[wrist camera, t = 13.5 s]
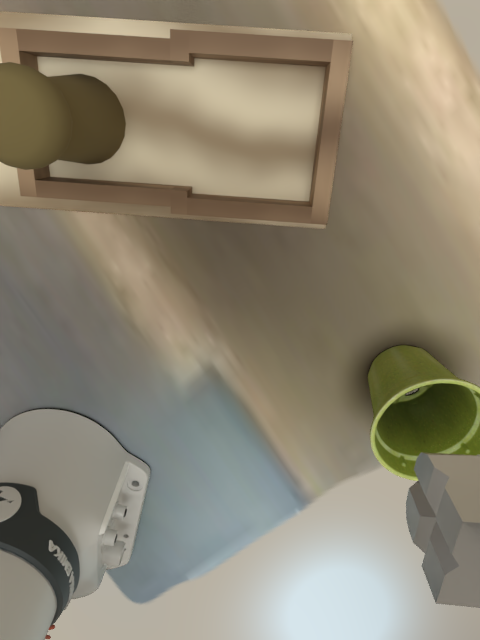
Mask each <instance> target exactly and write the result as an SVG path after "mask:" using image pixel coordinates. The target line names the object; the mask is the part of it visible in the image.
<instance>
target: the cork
mask: <svg viewBox="0 0 480 640" xmlns="http://www.w3.org/2000/svg"><path fill="white" fill-rule="evenodd" d="M125 127H126V122H125V116H124V111H123V108H122V106H121V104H120V102H119V100H118V98H117V95H116V94H115V93H114V92H113V91H112V90H111V89H110V88H109V87H108V85H107V84H105V83H104V82H102V81H100V80H99V79H97V78H95V77H93V76H89V75H85V74H72V75H61V76H51V77H47V76H45V75H44V74H42V73H40V72H39V71H37V70H36V69H34V68H32V67H29V66H25V65H21V64H17V63H13V62H7V63H0V162H1V163H3V164H5V165H7V166H11V167H15V168H19V169H24V170H29V169H38V168H43V167H46V166H48V165H50V164H52V163H53V162H55V161H57V160H62V161H69V162H75V163H82V164H88V165H89V164H98V163H102V162H104V161H106V160H108V159H110V158H111V157H112V156H113V155H114V154H115V153H116V152H117V151H118V150H119V149H120V146H121V144H122V142H123V139H124V137H125Z"/></svg>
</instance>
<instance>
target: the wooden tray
mask: <svg viewBox="0 0 480 640" xmlns="http://www.w3.org/2000/svg"><path fill="white" fill-rule="evenodd" d="M352 45H353V41H352V34H349V33H333V32H317V31H302V30H286V29H270V28H255V27H239V26H223V25H207V24H192V23H176V22H160V21H144V20H129V19H113V18H97V17H82V16H66V15H50V14H34V13H19V12H3V11H0V63H7V62H13V63H17V64H21V65H25V66H29V67H32V68H34V69H36V70H37V71H39V72H40V73H42V74H44V75H45V76H47V77H51V76H61V75H72V74H85V75H89V76H93V77H95V78H97V79H99V80H100V81H102V82H104V83H105V84H107V85H108V87H109V88H110V89H111V90H112V91H113V92H114V93H115V94H116V95H117V98H118V100H119V102H120V104H121V106H122V108H123V111H124V116H125V122H126V127H125V137H124V139H123V142H122V144H121V146H120V149H119V150H118V151H117V152H116V153H115V154H114V155H113V156H112V157H111V158H110V159H108V160H106V161H104V162H102V163H98V164H89V165H88V164H82V163H75V162H69V161H62V160H57V161H55V162H53V163H52V164H50V165H48V166H46V167H43V168H38V169H29V170H24V169H19V168H15V167H11V166H7V165H5V164H3V163H1V162H0V206H12V207H26V208H40V209H54V210H68V211H82V212H96V213H110V214H124V215H138V216H152V217H166V218H180V219H194V220H208V221H222V222H236V223H250V224H264V225H278V226H292V227H306V228H320V229H325V225H327V221H328V214H329V207H330V200H331V193H332V186H333V179H334V172H335V165H336V158H337V151H338V144H339V136H340V129H341V122H342V115H343V108H344V101H345V94H346V87H347V80H348V73H349V66H350V59H351V52H352Z"/></svg>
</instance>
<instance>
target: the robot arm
mask: <svg viewBox="0 0 480 640" xmlns="http://www.w3.org/2000/svg"><path fill="white" fill-rule="evenodd" d="M414 471H415V473H416V476H417V478H418V480H419V481H417V482H416V483H415V484H414V485H413V486H411V487H410V488H409V492H408V496H407V501H406V515H407V517H406V518H407V523H408V528H409V532H410V534H411V537H412V540H413V542H414V544H416V546H418V547H419V548H420V549H421V550H422V551H423V552H424V553H425V557H424V560H423V564H422V567H423V570H424V572H425V575H426V578H427V581H428V583H429V586H430V589H431V591H432V594H433V597H434V599H435V602H436V604H447V605H457V606H467V607H478V608H480V455H463V454H444V453H426V452H421V453H420V454H419V456H418V457H417V459H416V463H415V467H414ZM150 473H151V471H150V468H149V467H148V465H147V464H145V463H144V462H143V461H141V460H140V459H138V458H136V457H134V456H133V455H131V454H129V453H128V452H127V451H125V450H124V449H123V447H122V446H121V445H120V444H119V443H118V442H117V440H116V439H115V438H114V437H113V436H112V435H111V434H110V433H109V432H108V431H106V430H105V429H104V428H103V427H101V426H100V425H98V424H97V423H95V422H93V421H92V420H90V419H88V418H86V417H83V416H81V415H78V414H75V413H72V412H68V411H63V410H55V409H39V410H33V411H28V412H25V413H22V414H20V415H17V416H15V417H14V418H12V419H11V420H9V421H8V422H7V423H6V424H5V425H4V426H3V427H2V428H1V430H0V640H44V639H50V638H51V637H50V636H49V635H47V632H48V630H51V629H54V628H55V625H52V624H53V623H55V622H56V620H57V619H58V617H59V616H60V615H61V613H62V611H63V610H65V609H66V607H67V606H68V604H69V602H70V600H71V599H76V598H80V597H84V596H87V595H89V594H91V593H93V592H94V591H96V590H97V589H98V587H99V585H100V583H101V581H102V578H103V575H104V573H105V570H108V569H113V568H117V567H120V566H123V565H126V564H127V563H128V562H129V560H130V557H131V555H132V552H133V548H134V543H135V539H136V535H137V530H138V526H139V522H140V517H141V513H142V508H143V504H144V500H145V495H146V491H147V487H148V482H149V478H150ZM136 481H138V482H136Z"/></svg>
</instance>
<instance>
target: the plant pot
mask: <svg viewBox="0 0 480 640" xmlns="http://www.w3.org/2000/svg"><path fill="white" fill-rule="evenodd" d="M368 383H369V389H370V395H371V401H372V407H373V413H374V417H373V422H372V425H371V429H370V442H371V447H372V450H373V453H374V455H375V457H376V458H377V460H378V461H379V462H380V463H381V465H382V466H383V467H385V468H386V469H387V470H388V471H390V472H392V473H393V474H395V475H397V476H399V477H403V478H406V479H409V480H414V481H419V480H418V478H417V476H416V473H415V471H414V467H415V463H416V459H417V457H418V456H419V454H420V453H421V452H426V453H444V454H463V455H480V387H478V386H477V385H475V384H473V383H470V382H468V381H465V380H461V379H459V378H457V377H456V376H455V375H453V374H452V373H451V372H450V371H449V370H447V369H446V368H445V367H444V366H443V365H442V364H440V363H439V362H438V361H437V360H436V359H435V358H433V357H432V356H431V355H430V354H429V353H428V352H426V351H425V350H424V349H422V348H418V347H413V346H407V345H400V346H395V347H392V348H389V349H387V350H385V351H384V352H382V353H381V354H379V355H378V356H377V357H376V358H375V359H374V361H373V363H372V365H371V368H370V370H369V373H368ZM416 388H419V390H418V391H417V392H416V393H414V394H412V395H408V396H406V395H405V394H406V393H408V392H411V391H413V390H415V389H416Z"/></svg>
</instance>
